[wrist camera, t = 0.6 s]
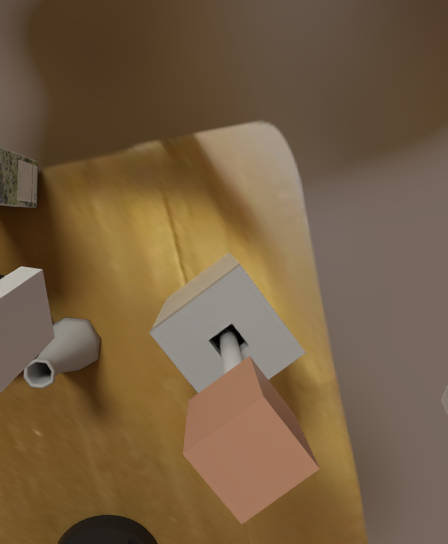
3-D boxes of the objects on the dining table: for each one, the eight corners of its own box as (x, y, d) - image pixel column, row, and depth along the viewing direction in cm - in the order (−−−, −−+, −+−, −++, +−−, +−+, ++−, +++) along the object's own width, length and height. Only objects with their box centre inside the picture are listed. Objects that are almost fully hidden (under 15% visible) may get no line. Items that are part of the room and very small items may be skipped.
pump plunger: (257, 335, 36) (319, 468, 17) (221, 361, 37) (241, 524, 17) (231, 301, 36) (263, 396, 16) (195, 327, 36) (183, 454, 16)
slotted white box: (273, 312, 49) (305, 352, 33) (213, 356, 49) (217, 416, 34) (229, 251, 47) (240, 265, 32) (167, 297, 48) (149, 333, 32)
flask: (94, 311, 47) (65, 334, 37) (107, 363, 48) (81, 399, 38) (38, 322, 47) (-6, 348, 37) (52, 374, 48) (13, 413, 38)
